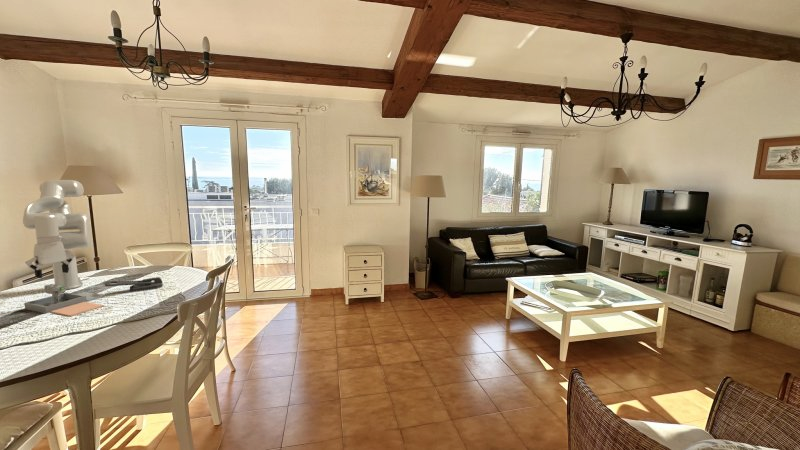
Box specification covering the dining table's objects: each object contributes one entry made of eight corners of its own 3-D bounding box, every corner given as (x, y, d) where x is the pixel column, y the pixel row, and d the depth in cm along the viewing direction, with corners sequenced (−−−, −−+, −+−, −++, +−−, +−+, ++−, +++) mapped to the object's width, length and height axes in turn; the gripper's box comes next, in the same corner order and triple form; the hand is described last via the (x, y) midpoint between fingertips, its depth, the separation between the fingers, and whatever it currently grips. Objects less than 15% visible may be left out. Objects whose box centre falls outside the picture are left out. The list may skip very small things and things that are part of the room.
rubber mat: (84, 302, 164) (84, 301, 164) (103, 306, 160) (103, 305, 160) (50, 312, 152) (50, 311, 152) (70, 316, 148) (70, 315, 148)
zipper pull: (104, 281, 179) (160, 273, 195) (105, 292, 179) (161, 283, 196) (104, 285, 172) (162, 276, 188) (105, 297, 173) (163, 287, 189)
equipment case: (84, 293, 178) (84, 287, 177) (104, 296, 173) (104, 291, 173) (25, 309, 156) (24, 302, 155) (46, 313, 151) (45, 307, 151)
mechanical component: (61, 307, 158) (58, 287, 157) (45, 305, 160) (42, 285, 159) (68, 305, 161) (66, 285, 160) (52, 303, 163) (50, 283, 162)
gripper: (66, 237, 166) (70, 270, 168) (18, 242, 149) (23, 279, 151) (76, 237, 163) (79, 271, 165) (28, 243, 147) (33, 280, 149)
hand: (52, 275), depth 158 cm, fingers open, 9 cm apart
